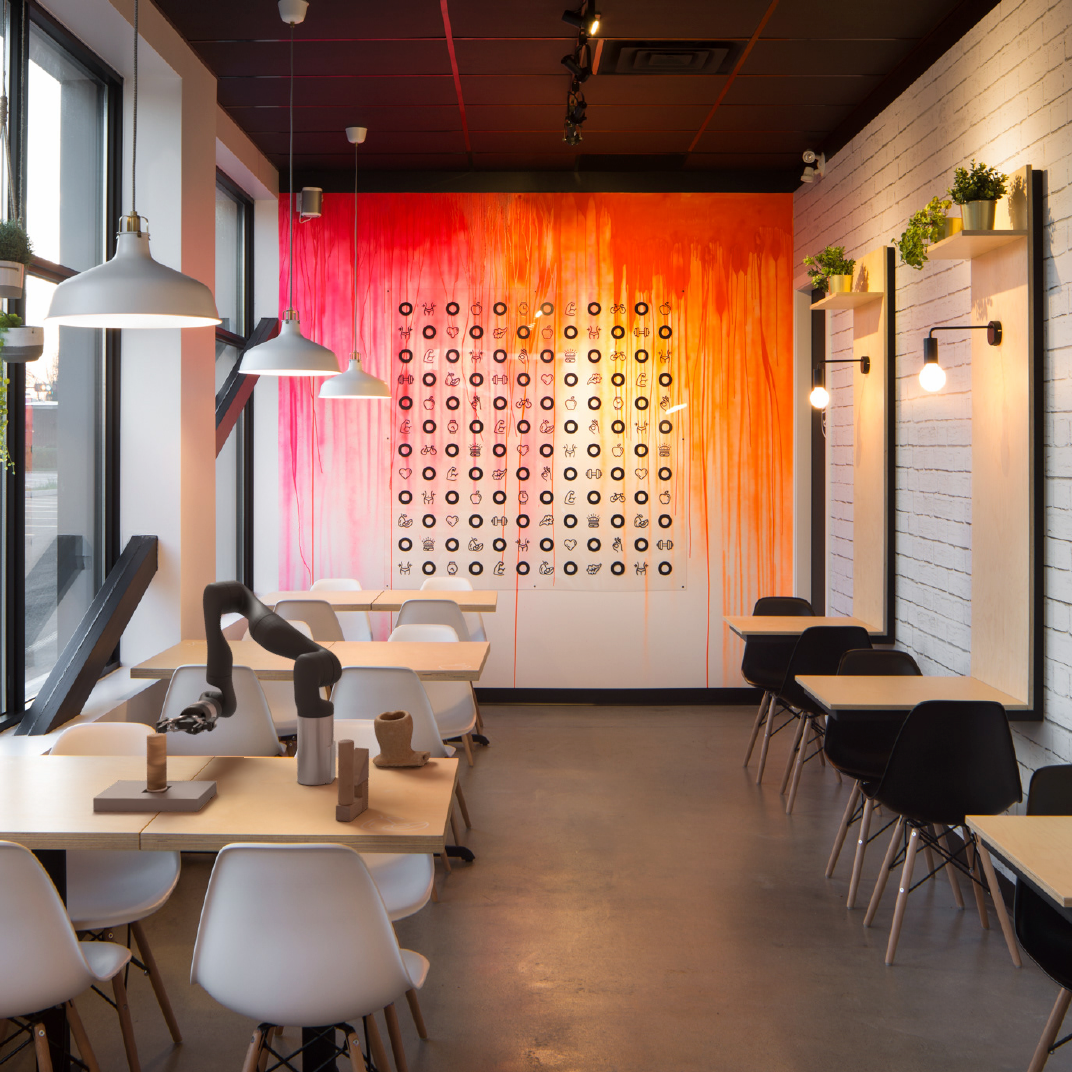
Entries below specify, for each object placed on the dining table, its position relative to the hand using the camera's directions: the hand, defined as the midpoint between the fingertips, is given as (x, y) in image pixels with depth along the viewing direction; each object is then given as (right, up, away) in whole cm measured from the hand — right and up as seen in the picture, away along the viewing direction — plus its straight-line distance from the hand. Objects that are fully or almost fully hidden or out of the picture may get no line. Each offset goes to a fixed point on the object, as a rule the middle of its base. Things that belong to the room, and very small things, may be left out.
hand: (177, 731), depth 244 cm
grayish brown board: (0, -14, -13) cm, 19 cm away
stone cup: (+53, -14, +20) cm, 59 cm away
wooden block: (+48, -16, -20) cm, 54 cm away
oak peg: (0, -14, -12) cm, 19 cm away
